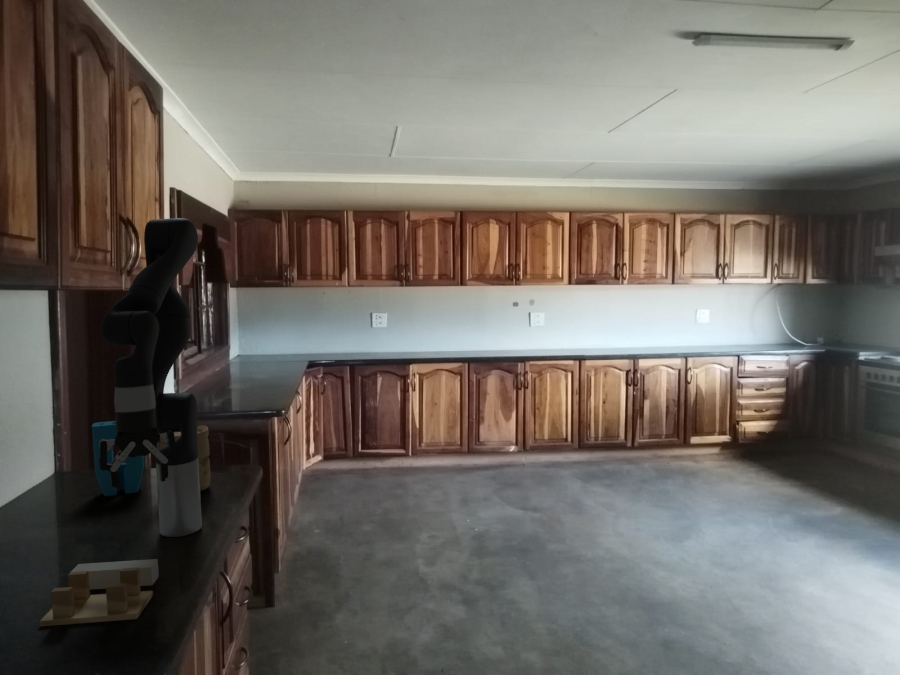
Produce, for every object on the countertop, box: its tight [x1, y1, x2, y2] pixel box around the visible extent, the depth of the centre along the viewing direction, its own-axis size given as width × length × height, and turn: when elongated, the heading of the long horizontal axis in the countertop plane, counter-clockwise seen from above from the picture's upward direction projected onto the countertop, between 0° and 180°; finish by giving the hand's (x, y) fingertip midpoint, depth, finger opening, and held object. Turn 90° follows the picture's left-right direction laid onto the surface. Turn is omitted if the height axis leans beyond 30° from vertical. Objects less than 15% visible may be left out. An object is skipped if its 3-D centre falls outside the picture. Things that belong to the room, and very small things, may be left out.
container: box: [159, 425, 212, 492], centre depth 170 cm, size 13×13×18 cm
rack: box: [39, 567, 154, 627], centre depth 111 cm, size 8×16×6 cm, turn 97°
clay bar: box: [70, 558, 160, 591], centre depth 121 cm, size 4×15×4 cm, turn 97°
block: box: [91, 420, 145, 497], centre depth 171 cm, size 12×5×20 cm, turn 113°
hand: (140, 484), depth 126 cm, fingers open, 8 cm apart
